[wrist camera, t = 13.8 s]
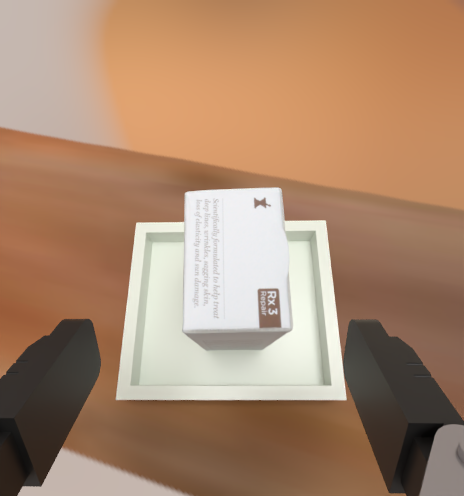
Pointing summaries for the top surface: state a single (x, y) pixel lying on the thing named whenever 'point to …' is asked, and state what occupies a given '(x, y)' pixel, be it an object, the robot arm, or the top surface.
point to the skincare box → (235, 269)
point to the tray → (228, 361)
